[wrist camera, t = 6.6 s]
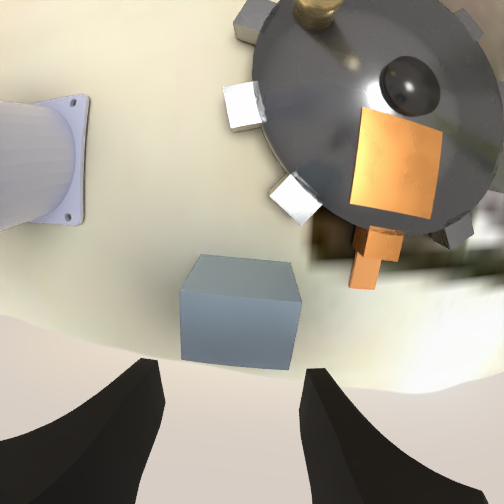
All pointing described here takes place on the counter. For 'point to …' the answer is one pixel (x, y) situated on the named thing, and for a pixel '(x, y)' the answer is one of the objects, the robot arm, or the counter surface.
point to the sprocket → (374, 114)
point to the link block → (239, 312)
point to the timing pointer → (364, 272)
